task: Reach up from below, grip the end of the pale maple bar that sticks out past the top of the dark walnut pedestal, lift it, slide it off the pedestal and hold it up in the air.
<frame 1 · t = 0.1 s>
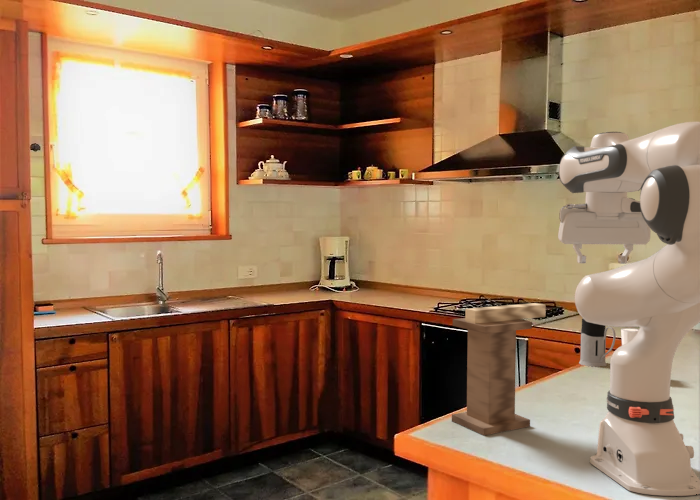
hand: (601, 263, 154), 39 cm above the counter, tool pointing down, fingers open, 8 cm apart
maple bar: (506, 319, 160), point 25 cm above the counter, touching walnut pedestal
shot glass: (630, 348, 250), on the counter
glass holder: (598, 366, 221), on the counter
walnut pedestal: (490, 423, 159), on the counter
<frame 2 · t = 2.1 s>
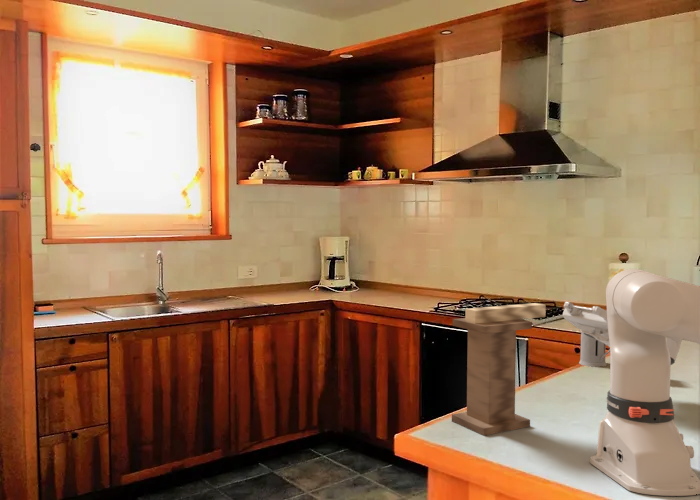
hand: (580, 306, 171), 26 cm above the counter, tool pointing upward, fingers open, 8 cm apart
nothing on the counter moved.
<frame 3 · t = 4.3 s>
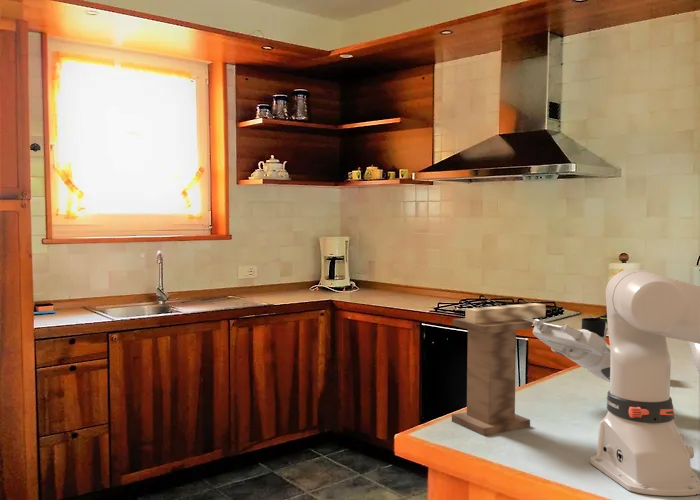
hand: (549, 324, 167), 23 cm above the counter, tool pointing upward, fingers open, 8 cm apart
nothing on the counter moved.
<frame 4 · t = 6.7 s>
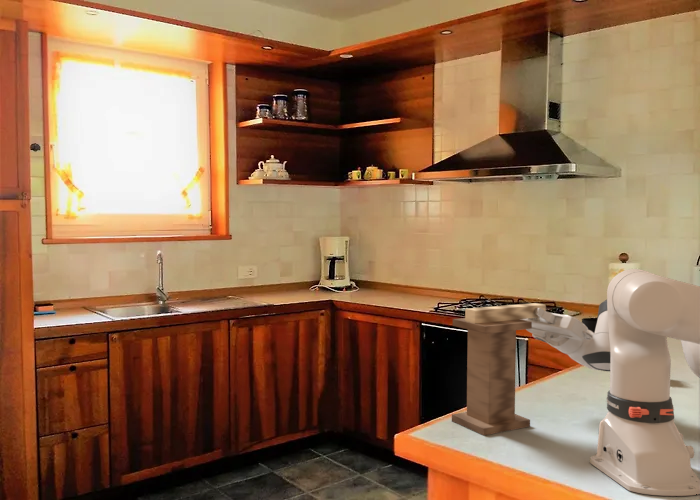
hand: (528, 309, 163), 27 cm above the counter, tool pointing upward, fingers closed on maple bar, 3 cm apart
maple bar: (506, 319, 160), point 25 cm above the counter, touching gripper, walnut pedestal
everything else where it was.
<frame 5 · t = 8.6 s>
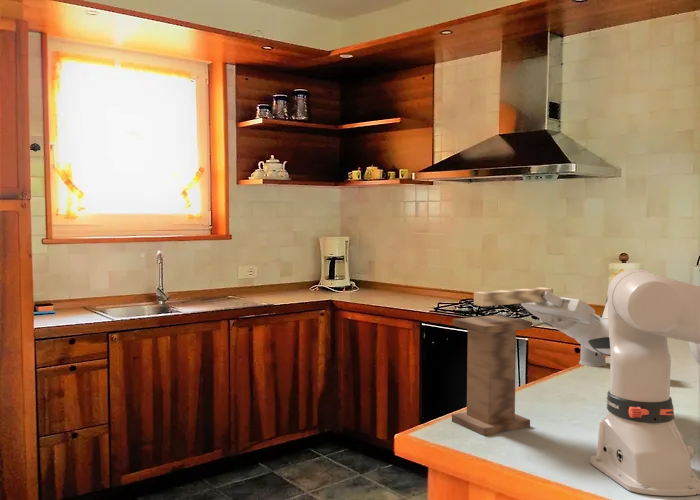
hand: (536, 292, 164), 31 cm above the counter, tool pointing upward, fingers closed on maple bar, 3 cm apart
maple bar: (514, 302, 161), point 29 cm above the counter, touching gripper
everything else where it was.
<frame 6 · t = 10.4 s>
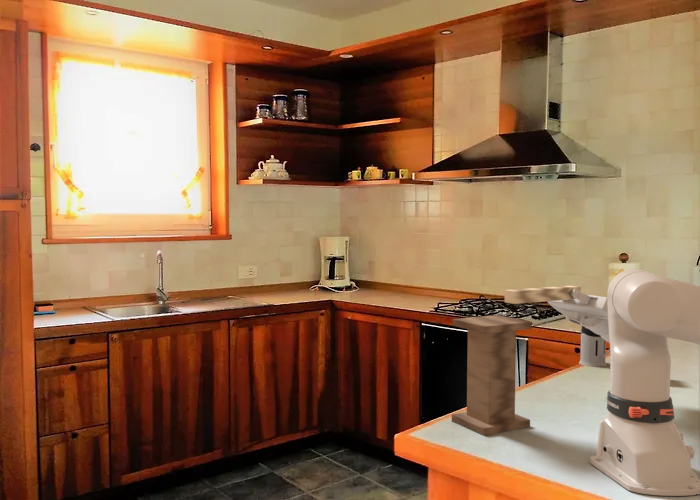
hand: (564, 290, 169), 31 cm above the counter, tool pointing upward, fingers closed on maple bar, 3 cm apart
maple bar: (543, 300, 165), point 29 cm above the counter, touching gripper
everything else where it was.
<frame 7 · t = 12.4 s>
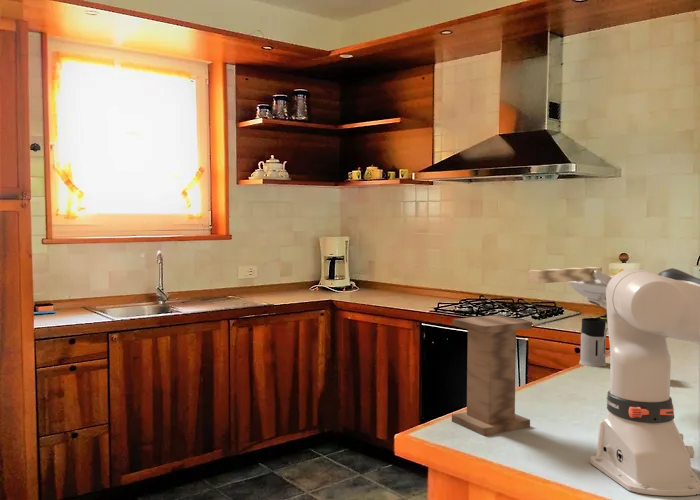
hand: (585, 271, 172), 35 cm above the counter, tool pointing upward, fingers closed on maple bar, 3 cm apart
maple bar: (565, 280, 169), point 33 cm above the counter, touching gripper
everything else where it was.
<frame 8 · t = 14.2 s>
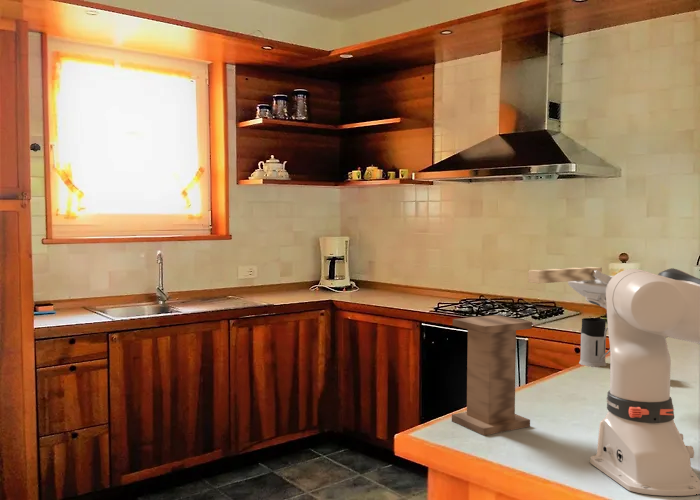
hand: (585, 271, 172), 35 cm above the counter, tool pointing upward, fingers closed on maple bar, 3 cm apart
maple bar: (565, 280, 169), point 33 cm above the counter, touching gripper
everything else where it was.
at the end: the gripper is holding maple bar; maple bar touching gripper; maple bar point 33.4 cm above the counter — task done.
